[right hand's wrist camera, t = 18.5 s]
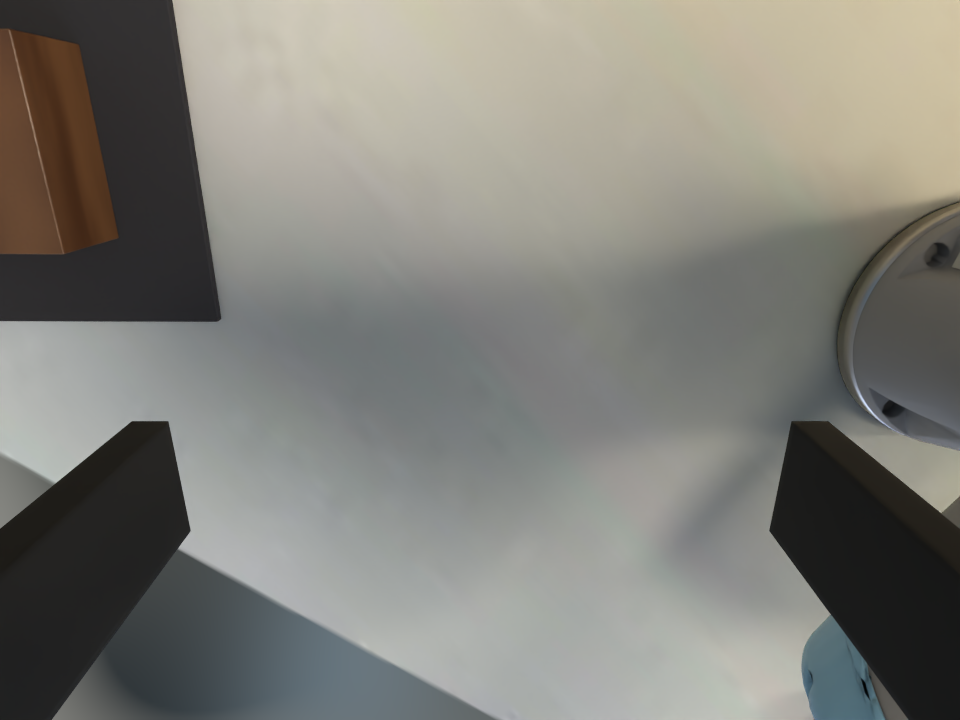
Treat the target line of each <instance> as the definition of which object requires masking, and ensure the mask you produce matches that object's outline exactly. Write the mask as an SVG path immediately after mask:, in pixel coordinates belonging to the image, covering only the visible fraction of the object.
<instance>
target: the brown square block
mask: <svg viewBox="0 0 960 720" xmlns="http://www.w3.org/2000/svg"><path fill="white" fill-rule="evenodd" d="M117 238H119V236H118V231H117V226H116V221H115V217H114V212H113V207H112V202H111V197H110V192H109V188H108V183H107V178H106V173H105V168H104V163H103V158H102V154H101V149H100V144H99V139H98V134H97V129H96V125H95V120H94V115H93V110H92V105H91V100H90V96H89V91H88V86H87V81H86V76H85V71H84V67H83V62H82V57H81V52H80V47H79V45H78V44H76V43H71V42H67V41H62V40H58V39H54V38H49V37H45V36H40V35H36V34H31V33H27V32H23V31H18V30H14V29H9V28H0V254H66V253H70V252H73V251H76V250H80V249H83V248H87V247H90V246H93V245H97V244H100V243H104V242H107V241H110V240H114V239H117Z"/></svg>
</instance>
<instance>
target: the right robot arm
mask: <svg viewBox="0 0 960 720" xmlns="http://www.w3.org/2000/svg"><path fill="white" fill-rule="evenodd" d="M837 356H838V363H839V368H840V372H841V375H842V378H843V380H844V383H845V385H846V387H847V389H848V391H849V392H850V394H851V395H852V397H853V398H854V399H855V401H856V402H857V403H858V404H859V405H860V406H861V407H862V408H863V409H864V410H865V411H867V412H868V413H869V414H870V415H872V416H873V417H874V418H876V419H877V420H879V421H880V422H882V423H883V424H884V425H886V426H887V427H889V428H891V429H892V430H894V431H896V432H898V433H900V434H902V435H905V436H908V437H910V438H913V439H916V440H919V441H922V442H926V443H930V444H934V445H938V446H942V447H947V448H951V449H955V450H959V451H960V202H959V203H956V204H953V205H950V206H947V207H945V208H942V209H940V210H938V211H935V212H933V213H931V214H929V215H928V216H926V217H924V218H922V219H920V220H919V221H917V222H915V223H914V224H912V225H911V226H909V227H908V228H906V229H905V230H904V231H902V232H901V233H900V234H898V235H897V236H896V237H895V238H894V239H893V240H891V241H890V242H889V243H888V244H887V245H886V246H885V247H884V248H883V249H882V250H881V251H880V252H879V253H878V254H877V255H876V256H875V257H874V259H873V260H872V261H871V262H870V263H869V265H868V266H867V267H866V269H865V270H864V271H863V273H862V274H861V276H860V277H859V279H858V281H857V282H856V284H855V286H854V287H853V289H852V291H851V293H850V295H849V298H848V300H847V302H846V305H845V308H844V310H843V313H842V317H841V321H840V325H839V331H838V340H837ZM190 531H191V530H190V526H189V521H188V516H187V511H186V506H185V501H184V496H183V491H182V486H181V481H180V476H179V471H178V467H177V462H176V457H175V452H174V447H173V442H172V437H171V432H170V427H169V422H168V421H132V422H131V423H129V424H128V425H127V426H126V427H124V428H123V429H122V430H121V431H120V432H118V433H117V434H116V435H115V436H113V437H112V438H111V439H110V440H109V441H107V442H106V443H105V444H104V445H102V446H101V447H100V448H99V449H97V450H96V451H95V452H94V453H93V454H91V455H90V456H89V457H88V458H86V459H85V460H84V461H83V462H82V463H80V464H79V465H78V466H77V467H75V468H74V469H73V470H72V471H70V472H69V473H68V474H67V475H66V476H64V477H63V478H62V479H61V480H59V481H58V482H57V483H56V484H55V485H53V486H52V487H51V488H50V489H48V490H47V491H46V492H45V493H44V494H42V495H41V496H40V497H39V498H37V499H36V500H35V501H34V502H32V503H31V504H30V505H29V506H28V507H26V508H25V509H24V510H23V511H21V512H20V513H19V514H18V515H16V516H15V517H14V518H13V519H12V520H10V521H9V522H8V523H7V524H6V525H4V526H3V527H2V528H1V529H0V720H52V719H53V717H54V716H55V714H56V713H57V712H58V710H59V709H60V708H61V706H62V705H63V704H64V702H65V701H66V700H67V698H68V697H69V695H70V694H71V693H72V691H73V690H74V689H75V687H76V686H77V685H78V683H79V682H80V680H81V679H82V678H83V676H84V675H85V674H86V672H87V671H88V670H89V668H90V667H91V665H92V664H93V663H94V661H95V660H96V659H97V657H98V656H99V655H100V653H101V652H102V650H103V649H104V648H105V646H106V645H107V644H108V642H109V641H110V640H111V638H112V637H113V636H114V634H115V633H116V632H117V630H118V629H119V627H120V626H121V625H122V623H123V622H124V621H125V619H126V618H127V617H128V615H129V614H130V613H131V611H132V610H133V608H134V607H135V606H136V604H137V603H138V602H139V600H140V599H141V598H142V596H143V595H144V594H145V592H146V591H147V589H148V588H149V587H150V585H151V584H152V583H153V581H154V580H155V579H156V577H157V576H158V575H159V573H160V572H161V570H162V569H163V568H164V566H165V565H166V564H167V562H168V561H169V560H170V558H171V557H172V555H173V554H174V553H175V551H176V550H177V549H178V547H179V546H180V545H181V543H182V542H183V541H184V539H185V538H186V536H187V535H188V534H189V532H190ZM769 531H770V532H771V534H772V535H773V536H774V538H775V539H776V541H777V542H778V543H779V545H780V546H781V547H782V549H783V550H784V551H785V553H786V554H787V555H788V557H789V558H790V560H791V561H792V562H793V564H794V565H795V566H796V568H797V569H798V570H799V572H800V573H801V575H802V576H803V577H804V579H805V580H806V581H807V583H808V584H809V585H810V587H811V588H812V589H813V591H814V592H815V594H816V595H817V596H818V598H819V599H820V600H821V602H822V603H823V604H824V606H825V607H826V608H827V610H828V611H829V613H830V614H831V615H830V616H829V617H828V618H827V619H826V620H825V621H824V622H823V623H822V624H821V625H820V626H819V627H818V628H817V629H816V631H815V632H814V633H813V634H812V635H811V636H810V638H809V639H808V641H807V643H806V645H805V647H804V651H803V655H802V677H803V684H804V688H805V691H806V694H807V697H808V699H809V704H810V709H811V712H812V714H813V717H814V719H815V720H960V497H959V498H957V499H956V500H955V501H954V502H953V503H952V504H951V505H950V506H949V507H948V508H947V509H946V510H944V511H943V512H942V513H940V512H939V511H937V510H936V509H935V508H934V507H932V506H931V505H930V504H929V503H928V502H926V501H925V500H924V499H923V498H921V497H920V496H919V495H918V494H917V493H915V492H914V491H913V490H912V489H910V488H909V487H908V486H907V485H905V484H904V483H903V482H902V481H901V480H899V479H898V478H897V477H896V476H894V475H893V474H892V473H891V472H890V471H888V470H887V469H886V468H885V467H883V466H882V465H881V464H880V463H878V462H877V461H876V460H875V459H874V458H872V457H871V456H870V455H869V454H867V453H866V452H865V451H864V450H863V449H861V448H860V447H859V446H858V445H856V444H855V443H854V442H853V441H851V440H850V439H849V438H848V437H847V436H845V435H844V434H843V433H842V432H840V431H839V430H838V429H837V428H836V427H834V426H833V425H832V424H831V423H829V422H828V421H792V422H791V427H790V432H789V437H788V442H787V447H786V452H785V457H784V462H783V467H782V471H781V476H780V481H779V486H778V491H777V496H776V501H775V506H774V511H773V516H772V521H771V526H770V530H769Z"/></svg>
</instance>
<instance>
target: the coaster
mask: <svg viewBox="0 0 960 720" xmlns="http://www.w3.org/2000/svg"><path fill="white" fill-rule="evenodd" d="M0 28H9V29H14V30H18V31H23V32H27V33H31V34H36V35H40V36H45V37H49V38H54V39H58V40H62V41H67V42H71V43H76V44H78V45H79V47H80V52H81V57H82V62H83V67H84V71H85V76H86V81H87V86H88V91H89V96H90V100H91V105H92V110H93V115H94V120H95V125H96V129H97V134H98V139H99V144H100V149H101V154H102V158H103V163H104V168H105V173H106V178H107V183H108V188H109V192H110V197H111V202H112V207H113V212H114V217H115V221H116V226H117V231H118V236H119V238H117V239H114V240H110V241H107V242H104V243H100V244H97V245H93V246H90V247H87V248H83V249H80V250H76V251H73V252H70V253H66V254H0V321H175V322H217V321H219V320H220V319H221V314H220V308H219V301H218V295H217V288H216V282H215V275H214V269H213V262H212V256H211V249H210V243H209V237H208V230H207V224H206V217H205V211H204V204H203V198H202V191H201V185H200V178H199V172H198V165H197V159H196V153H195V146H194V140H193V133H192V127H191V120H190V114H189V107H188V101H187V94H186V88H185V82H184V75H183V69H182V62H181V56H180V49H179V43H178V36H177V30H176V23H175V17H174V10H173V4H172V0H0Z"/></svg>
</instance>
